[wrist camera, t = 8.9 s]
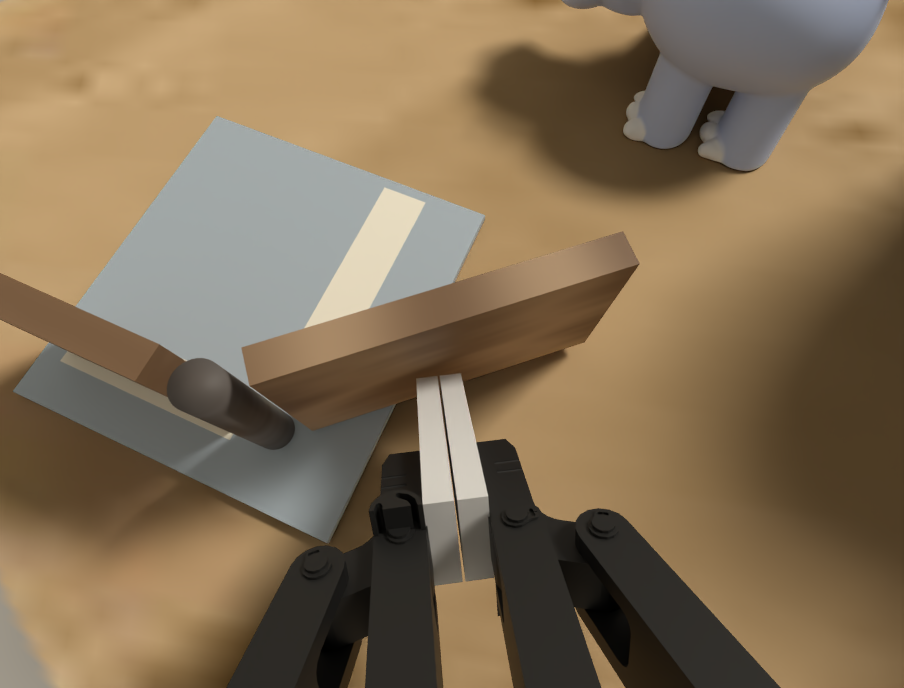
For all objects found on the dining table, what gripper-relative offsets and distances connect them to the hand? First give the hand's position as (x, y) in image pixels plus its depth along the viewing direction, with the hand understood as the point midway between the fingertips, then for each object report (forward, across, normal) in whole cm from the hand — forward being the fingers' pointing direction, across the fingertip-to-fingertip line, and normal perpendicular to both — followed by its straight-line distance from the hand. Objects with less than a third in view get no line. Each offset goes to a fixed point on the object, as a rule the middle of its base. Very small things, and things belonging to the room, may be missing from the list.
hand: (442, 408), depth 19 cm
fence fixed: (+4, -11, 0) cm, 12 cm away
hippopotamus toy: (+15, +15, +10) cm, 23 cm away
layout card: (+7, -7, +3) cm, 10 cm away
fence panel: (+3, 0, 0) cm, 3 cm away
